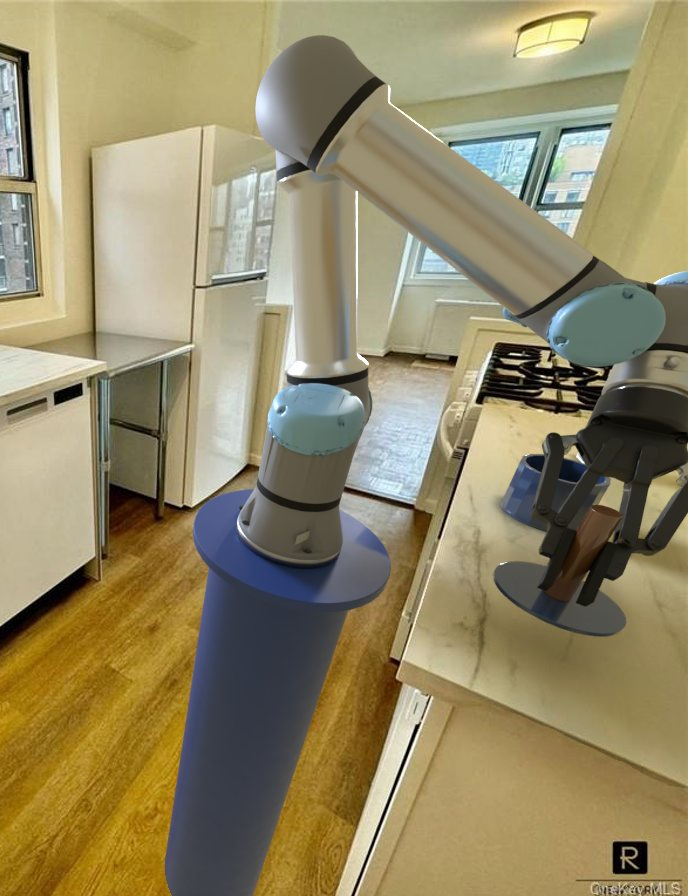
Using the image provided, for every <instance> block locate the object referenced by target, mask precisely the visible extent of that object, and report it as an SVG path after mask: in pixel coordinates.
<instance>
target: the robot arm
mask: <svg viewBox="0 0 688 896" xmlns="http://www.w3.org/2000/svg"><path fill="white" fill-rule="evenodd" d="M390 97H391V87H390V85H389V84H388V83H386V82H385V81H383V79H381V78H379V77H378V76H377V75H376V74H375V73H373V71H371V70H370V69H368V68H367V67H366V65H364V63H363V62H362V61H361V60H360V59H359V58H358V56H357V55H356V53H355V51H354V50H353V49H352V48H351V47H350V46H349V45H348V44H347V43H346V42H345V41H344V40H341V39H339V38H337V37H335V36H332V35H324V34H323V35H322V34H321V35H320V34H319V35H310V36H306V37H304V38H301V39H299V40H296V41H295V42H294V43H292V44H291V45H289V46H288V47H286V48H285V49H283V50H282V51H281V52H280V53H279V54H278V56H276V58H275V59H273V61H272V62H271V64H270V65H269V66H268V68H267V69H266V71H265V73H264V75H263V76H262V79H261V81H260V83H259V86H258V90H257V94H256V98H255V99H256V100H255V109H254V112H255V113H254V114H255V121H256V125H257V127H258V131H259V133H260V134H261V135H260V136H261V137H262V138H263V140H264V141H265V142H266V143H267V144H268V145H269V147H271V148H272V149H274V150H275V151H274V152H275V166H276V167H275V168H276V169H275V170H276V185H277V186H278V187H279V188H280V189H282V190H283V191H285V192H286V193H287V195H288V196H289V197H288V198H289V220H290V221H289V224H290V245H291V247H290V249H291V269H292V270H291V273H292V294H293V295H292V297H293V318H294V320H293V322H294V343H295V344H294V345H295V359H294V361H293V362H292V363H291V364H290V365H289V366H288V367H287V368H286V371H285V372H286V373H285V374H286V387H285V388H283V389H281V390H280V391H279V392H278V393H277V394H276V395H275V397H274V398H273V401H272V403H271V406H270V408H269V410H268V413H267V421H266V424H267V425H266V429H265V438H264V441H263V447H262V452H261V458H260V462H259V463H260V464H259V468H258V474H257V479H256V484H255V487H254V490H253V492H252V494H251V495H250V497H249V498H248V500H247V502H246V503H245V505H240V507H239V509H240V510H241V511H240V514H239V516H238V520H237V526H236V531H237V535H238V537H239V539H240V540H241V542H242V543H243V544H244V545H245V546H246V547H247V548H248V549H249V550H250V551H252V552H253V553H255V554H256V555H258V556H260V557H261V558H263V559H265V560H268V561H270V562H273V563H275V564H278V565H282V566H286V567H291V568H298V569H315V568H321V567H325V566H327V565H330V564H331V563H333V562H334V561H335V560H337V558H338V557H339V555H340V552H341V548H342V545H343V533H342V525H341V517H340V510H341V509H340V504H341V500H342V497H343V494H344V490H345V486H346V484H347V479H348V476H349V473H350V469H351V466H352V462H353V459H354V456H355V453H356V450H357V448H358V445H359V442H360V440H361V437H362V435H363V432H364V429H365V428H366V426H367V424H368V423H369V420H370V417H372V416H371V415H372V411H373V396H372V392H371V390H370V387H369V366H370V365H369V362H368V361H367V360H366V359H365V358H364V357H362V356H361V355H360V354H359V353H358V194H359V195H360V196H362V197H363V198H364V199H366V200H367V201H368V202H369V203H371V204H372V205H373V206H374V207H376V208H377V209H378V210H380V212H382V213H383V214H384V215H386V216H387V217H388V218H389V219H391V221H393V222H395V223H396V224H397V225H399V226H400V227H401V228H402V229H404V230H405V231H406V232H407V233H408V234H410V235H411V236H413V237H414V238H415V239H416V240H417V241H419V242H420V243H422V244H423V245H424V246H425V247H427V249H429V250H430V251H432V252H433V253H434V254H435V255H436V256H438V257H439V258H440V259H442V260H443V261H444V262H446V263H447V264H448V265H449V266H450V267H452V268H453V269H454V270H455V271H457V272H458V273H460V274H461V275H462V276H463V277H464V278H466V279H467V280H468V281H469V282H471V283H472V284H473V285H475V286H476V287H477V288H478V289H480V290H481V291H482V292H483V293H485V294H486V295H487V296H489V297H490V298H491V299H492V300H494V301H495V302H496V303H498V304H499V305H500V306H502V307H503V308H502V316H503V318H504V319H505V320H506V321H510V322H512V323H516V324H519V325H521V326H522V328H523V327H524V328H528V329H529V330H531V331H532V332H533V333H534V334H536V335H537V336H539V338H541V339H542V340H543V341H545V342H546V343H547V344H548V345H549V346H548V347H549V348H550V349H551V351H553V352H554V353H555V354H556V355H558V356H559V357H561V358H562V359H564V360H566V361H568V362H570V363H573V364H576V365H579V366H583V367H594V368H596V367H609V366H612V368H611V370H610V373H609V374H608V377H607V379H606V381H605V384H604V386H603V388H602V390H601V395H600V396H599V398H597V401H596V404H595V405H594V408H593V410H592V412H591V414H590V417H589V419H588V421H587V423H586V425H585V426H584V427H582V428H581V429H579V430H578V431H577V432H576V434H566V435H561V434H560V433H559V432H553V431H551V432H549V433H547V435H546V436H545V438H544V440H543V442H542V444H541V448H542V454H544V457H545V462H544V466H543V470H542V473H541V477H540V481H539V485H538V488H537V492H536V496H535V500H534V503H533V507H532V511H531V516H532V518H534V519H536V520H540V521H541V522H543V523H544V524H545V525H546V526H547V531H545V535H544V536H543V538H542V541H541V544H540V546H539V548H538V555H540V556H543V557H545V558H548V562H547V564H546V565H545V566H546V568H545V571H544V573H543V575H542V577H541V579H540V582H539V584H538V586H537V588H539V589H542V590H544V591H547V590H548V589H549V588H551V587H552V586H553V583H554V581H555V579H556V577H557V574H558V572H559V570H560V568H561V565H562V563H563V561H564V559H565V556H566V554H567V552H568V550H569V547H570V545H571V543H572V541H573V538H574V536H575V534H576V532H577V531H575V530H572V529H569V528H567V527H568V524H569V523H570V522H571V520H572V519H573V517H574V516H575V515H576V513H577V512H578V510H579V509H580V507H581V506H582V504H583V503H584V501H585V500H586V498H587V497H588V495H589V494H590V492H591V491H592V489H593V488H594V486H595V485H596V483H597V482H598V480H599V479H600V477H601V476H602V477H609V478H610V479H611V478H613V479H615V480H617V481H619V482H622V483H623V486H622V496H621V501H620V506H619V509H618V511H619V512H620V513H621V514H622V515H623V518H622V520H621V521H620V523H619V524H618V526H617V527H616V529H615V531H614V532H613V535H612V541H609V540H608V542H607V543H606V545H605V547H604V548H603V550H602V551H601V553H600V555H599V556H598V558H597V559H596V561H595V563H594V564H593V566H592V567H591V569H590V571H589V572H588V574H587V575H586V577H585V579H584V581H585V582H584V585H583V587H582V589H581V592H580V594H579V596H578V599H577V601H576V603H577V604H580V605H582V606H585V607H586V606H588V605H590V604H592V603H594V601H595V598H596V596H597V594H598V591H599V590H600V589H601V586H602V584H603V582H604V579H605V580H608V581H611V582H615V581H616V580H617V579H619V578H620V577H622V576H623V575H624V573H625V570H626V567H627V565H628V563H629V561H630V558H631V556H632V555H633V554H637V555H643V556H646V557H652V556H654V555H656V554H658V553H660V552H661V551H663V550H665V548H666V547H667V546H668V544H669V543H670V541H671V540H672V538H673V537H674V535H675V533H676V532H677V531H678V529H679V527H680V526H681V525H682V522H683V521H684V520H685V518H686V517H687V515H688V270H685V271H679V272H676V273H672V274H669V275H666V276H664V277H662V278H661V279H658V280H657V281H655V282H652V283H651V282H647V281H645V282H644V281H641V280H636V279H632V278H629V277H626V276H624V275H623V274H621V273H620V272H618V271H617V270H616V269H614V268H613V267H611V266H610V265H609V264H608V263H606V262H605V261H603V260H602V259H600V258H598V257H597V256H595V254H594V253H593V252H591V251H590V250H589V249H587V248H586V247H585V246H583V244H581V243H579V241H577V240H575V238H573V237H572V236H570V235H568V234H567V233H566V232H565V231H564V230H562V229H561V228H559V227H558V226H556V225H555V224H554V223H552V222H551V221H550V220H548V219H547V218H546V217H544V216H543V215H542V214H540V213H539V212H538V211H537V210H535V209H533V208H532V207H531V206H530V205H528V204H527V203H526V202H524V201H523V200H522V199H520V198H519V197H518V196H516V195H514V194H513V193H512V192H511V191H509V190H508V189H507V188H505V187H504V186H503V185H502V184H500V183H499V182H497V181H496V180H494V179H493V178H492V177H490V176H489V175H488V174H486V173H485V172H484V171H482V170H481V169H479V167H477V166H476V165H475V164H473V163H472V162H470V161H469V160H467V158H465V157H463V156H462V155H460V153H458V152H457V151H455V150H454V149H452V147H450V146H449V145H447V144H446V143H444V142H443V141H442V140H441V139H439V137H436V136H435V135H433V134H432V133H431V132H430V131H429V130H427V129H426V128H425V127H423V126H422V125H420V124H419V123H417V122H416V121H415V120H414V119H412V118H411V117H410V116H408V115H407V114H406V113H404V112H403V111H402V110H400V109H399V108H397V107H396V106H395V105H394V104H392V103H391V102H390V99H391V98H390ZM572 447H575V449H576V450H577V452H579V454H580V456H581V458H582V459H583V461H584V463H585V465H586V467H587V469H586V471H585V472H584V474H583V475H582V477H581V478H580V480H579V481H578V483H577V484H576V486H575V487H574V489H573V490H572V492H571V493H570V495H569V496H568V498H567V499H566V501H565V502H564V504H563V505H562V507H561V508H560V510H559V511H558V512H555V511H554V510H552V509H551V505H552V501H553V497H554V494H555V490H556V486H557V482H558V478H559V474H560V470H561V467H562V463H563V459H564V458H565V456H567V455H568V454H569V453H570V452H571V450H572ZM675 471H676V472H677V473H678V477H677V478H676V480H675V482H676V484H677V486H678V487H679V488H678V489H677V490H676V491H675V492H674V493H673V494H672V495H671V497H670V499H668V501H667V503H666V504H665V506H664V507H663V509H662V511H661V512H660V514H659V515H658V517H657V518H656V520H655V522H654V523H653V524H652V526H651V527H650V528H649V530H648V532H647V533H646V535H645V537H644V538H642V537H640V531H641V527H642V522H643V517H644V513H645V508H646V503H647V498H648V494H649V489H650V486H651V485H652V482H653V481H654V480H656V479H658V478H661V477H663V476H665V475H668V474H670V473H673V472H675Z"/></svg>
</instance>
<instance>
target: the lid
mask: <svg viewBox="0 0 688 896" xmlns="http://www.w3.org/2000/svg"><path fill="white" fill-rule="evenodd" d="M622 518H623V515H622V514H621V513H620V512H619V510H617V509H616V508H615V509H614V508H612V507H610V506H606V505H603V504H598V505H591V506H590V507H589V509H588V511H587V512H586V514H585V516H584V518H583V519H582V521H581V523H580V525H579V526H578V528H577V530H576V531H577V532H576V534H575V536H574V538H573V541H572V543H571V545H570V547H569V550H568V552H567V554H566V556H565V559H564V561H563V563H562V565H561V568H560V570H559V572H558V574H557V577H556V579H555V581H554V583H553V586H552V587H551V588H549V589H548V590H547V591H544V590H542V589H539V588H537V586H538V584H539V582H540V579H541V577H542V575H543V573H544V571H545V568H546V566H547V565H544V564H539V563H536V562H530V561H520V560H514V561H513V560H512V561H506V562H503V563H500V564H499V565H497V566H496V567H495V569H494V570H493V573H492V579H493V582H494V585H495V586H496V588H497V590H498V591H499V592H500V593H501V594H502V595H503V596H504V597H505V598H506V599H507V600H508V601H510V602H511V603H512V604H513V605H514V606H516V607H517V608H519V609H520V610H522V611H524V612H525V613H527V614H529V615H530V616H532V617H534V618H536V619H538V620H540V621H542V622H544V623H546V624H549V625H551V626H553V627H556V628H558V629H561V630H565V631H568V632H571V633H575V634H578V635H583V636H589V637H597V638H598V637H599V638H609V637H613V636H616V635H619V634H620V633H622V632H623V631H624V629H625V628H626V626H627V617H626V615H625V613H624V611H623V610H622V608H621V607H620V606H619V605H618V603H617V602H616V601H614V600H613V599H612V598H611V597H609V596H608V594H606V593H605V592H603V591H601V590H600V589H599V591H598V594H597V596H596V598H595V601H594V603H592V604H590V605H588V606H586V607H585V606H582V605H580V604H577V603H576V601H577V599H578V596H579V594H580V592H581V589H582V587H583V585H584V582H585V580H586V578H587V575H588V573H589V571H590V569H591V567H592V566H593V564H594V563H595V561H596V559H597V558H598V556H599V555H600V553H601V551H602V550H603V548H604V547H605V545H606V543H607V542H608V541H609V540H610V539H611V537H612V536H613V535H614V532H615V529H616V527H617V526H618V524H619V523H620V521H621V520H622Z"/></svg>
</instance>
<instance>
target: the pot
mask: <svg viewBox="0 0 688 896" xmlns="http://www.w3.org/2000/svg"><path fill="white" fill-rule="evenodd" d="M544 462H545V457H544V453H529V454H525V455H522V457H521V459H520V461H519V463H518V465H517V467H516V469H515V472H514V474H513V475H512V478H511V480H510V482H509V484H508V487H507V489H506V491H505V493H504V495H503V498H502V500H501V502H500V507H501V509H502V510H503V511H504V513H506V514H507V515H508V516H510V517H511V518H513V519H515V521H518V522H520V523H521V524H524V525H527V526H529V527H532V528H535V529H536V530H537V529H538V530H541V531H545V532H547V526H546V525H545V524H544V523H543V522H541V521H540V520H536V519H534V518H532V516H531V511H532V507H533V503H534V500H535V496H536V492H537V488H538V485H539V481H540V477H541V473H542V470H543V466H544ZM586 469H587V467H586V465H585V464H584V463H581V461H578V460H575V459H571V458H569V457H568V458H567V457H564V459H563V463H562V467H561V470H560V474H559V478H558V482H557V486H556V490H555V494H554V497H553V501H552V505H551V509H552V510H554V511H555V512H558V511H559V510H560V508H561V507H562V505H563V504H564V502H565V501H566V499H567V498H568V496H569V495H570V493H571V492H572V490H573V489H574V487H575V486H576V484H577V483H578V481H579V480H580V478H581V477H582V475H583V474H584V472H585V471H586ZM610 485H611V477H602V476H601V477H600V479H599V480H598V482H597V483H596V485H595V486H594V488H593V489H592V491H591V492H590V494H589V495H588V497H587V498H586V500H585V501H584V503H583V504H582V506H581V507H580V509H579V510H578V512H577V513H576V515H575V516H574V517H573V519H572V520H571V522H570V523H569V524H568V527H567V528H569V529H572V530H575V531H576V530H577V528H578V526H579V525H580V523H581V521H582V519H583V518H584V516H585V514H586V512H587V511H588V509H589V507H590V506H591V505H600V502H601V501H602V499H603V498H604V496H605V494H606V492H607V490H608V489H609V487H610Z"/></svg>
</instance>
